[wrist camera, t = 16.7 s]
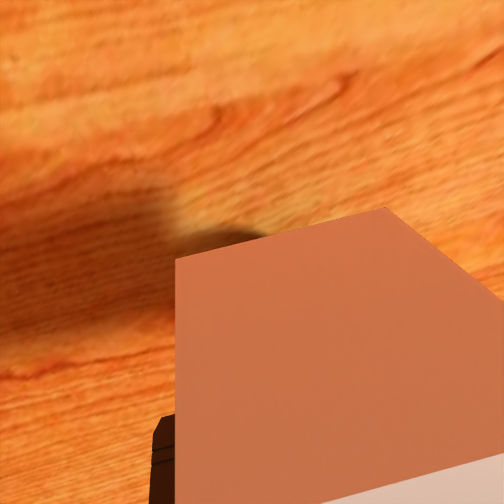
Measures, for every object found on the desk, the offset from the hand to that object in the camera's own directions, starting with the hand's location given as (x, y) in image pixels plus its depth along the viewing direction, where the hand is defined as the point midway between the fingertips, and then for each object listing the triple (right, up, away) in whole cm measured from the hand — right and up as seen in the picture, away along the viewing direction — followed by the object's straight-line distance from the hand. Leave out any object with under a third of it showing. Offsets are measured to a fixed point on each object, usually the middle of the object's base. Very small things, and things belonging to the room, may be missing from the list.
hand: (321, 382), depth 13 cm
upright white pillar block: (0, +1, +2) cm, 3 cm away
